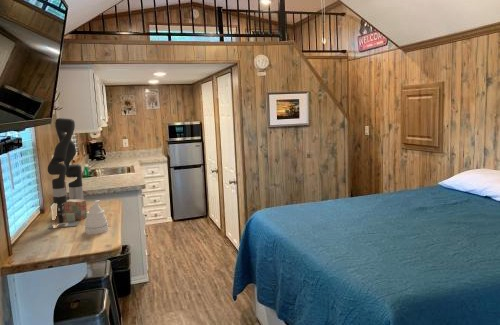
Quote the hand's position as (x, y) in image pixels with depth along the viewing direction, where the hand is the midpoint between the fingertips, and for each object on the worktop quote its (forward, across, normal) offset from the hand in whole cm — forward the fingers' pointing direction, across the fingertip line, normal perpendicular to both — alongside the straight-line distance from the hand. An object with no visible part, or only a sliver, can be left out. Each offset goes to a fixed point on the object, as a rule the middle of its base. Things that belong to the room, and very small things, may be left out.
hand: (61, 221), depth 247 cm
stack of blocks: (+3, -19, +3) cm, 19 cm away
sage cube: (+3, -10, +4) cm, 11 cm away
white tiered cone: (+3, +20, +21) cm, 29 cm away
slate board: (+3, 0, +1) cm, 3 cm away
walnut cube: (+1, 0, 0) cm, 1 cm away
